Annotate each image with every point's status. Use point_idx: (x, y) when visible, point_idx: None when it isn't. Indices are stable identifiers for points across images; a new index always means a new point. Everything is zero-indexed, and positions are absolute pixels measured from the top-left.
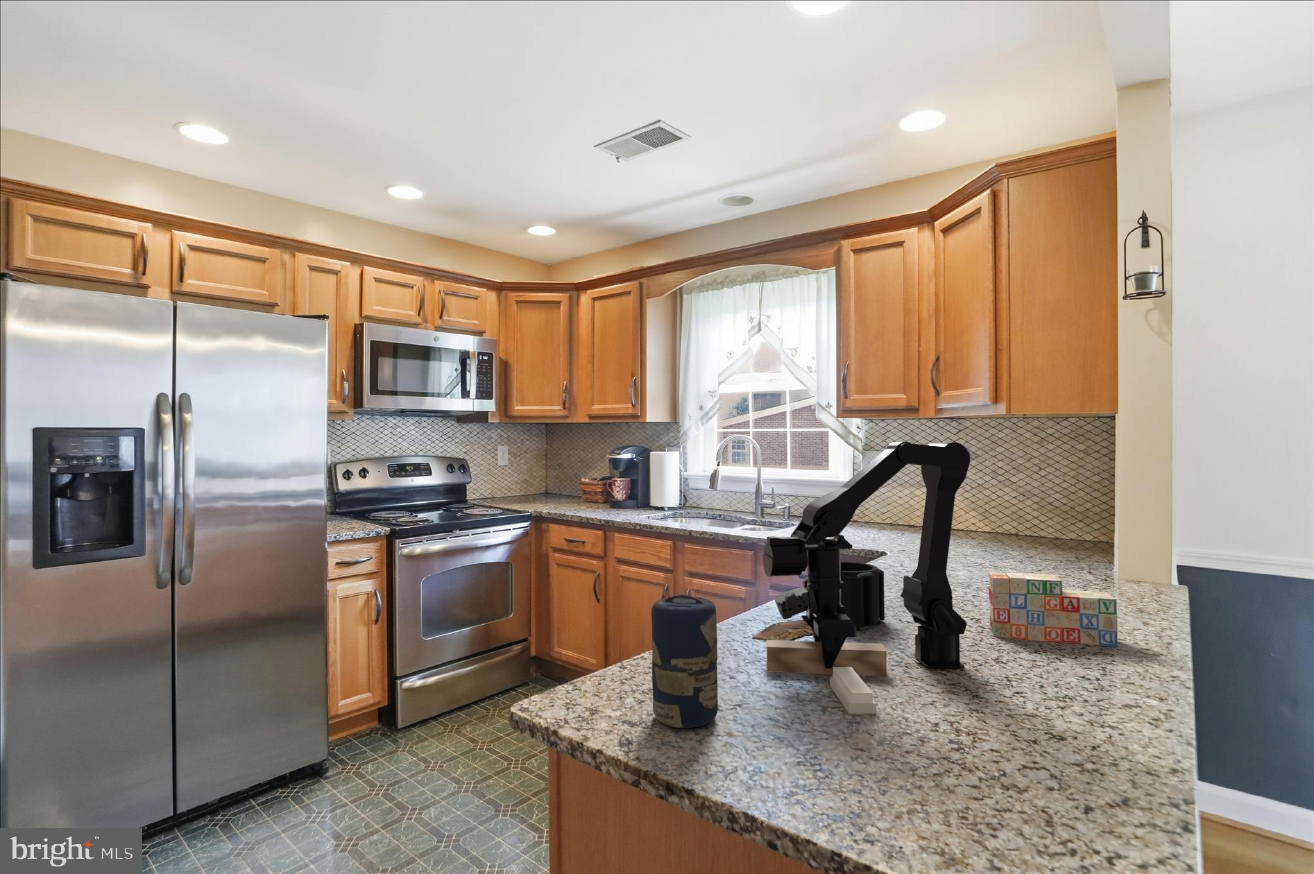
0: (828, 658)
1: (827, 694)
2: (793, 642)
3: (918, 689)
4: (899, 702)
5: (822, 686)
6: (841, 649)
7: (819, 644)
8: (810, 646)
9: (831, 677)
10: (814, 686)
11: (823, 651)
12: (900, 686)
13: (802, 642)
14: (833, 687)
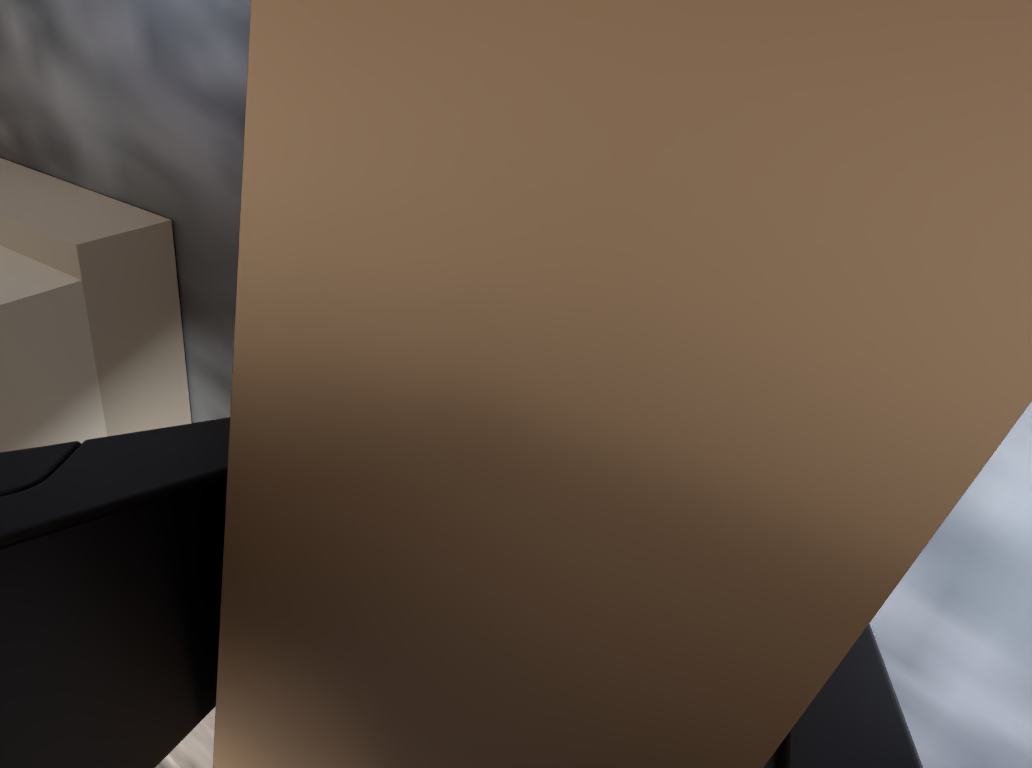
0: None
1: (4, 79)
2: (903, 7)
3: (177, 752)
4: None
5: (154, 126)
6: (216, 764)
7: (478, 687)
8: (364, 404)
9: (50, 243)
10: (145, 25)
11: (84, 448)
12: (209, 713)
13: (779, 405)
14: (38, 190)
